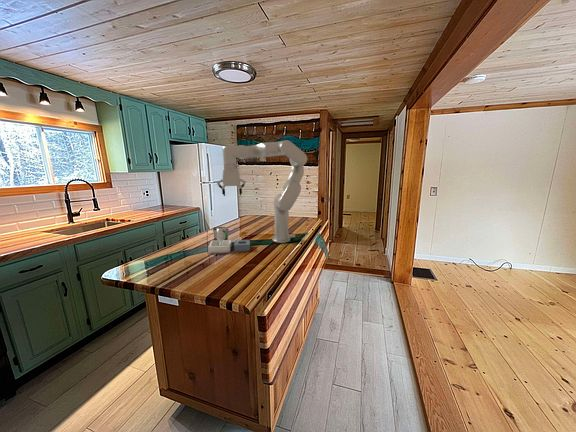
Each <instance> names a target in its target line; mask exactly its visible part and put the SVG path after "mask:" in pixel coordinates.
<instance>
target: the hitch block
mask: <svg viewBox="0 0 576 432" xmlns="http://www.w3.org/2000/svg"><path fill="white" fill-rule="evenodd" d="M250 241H251V240H250V239H240V240H239V239H237V240H234V244H233V246H234V252H236V253H237V252H249V251H251V242H250Z"/></svg>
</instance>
